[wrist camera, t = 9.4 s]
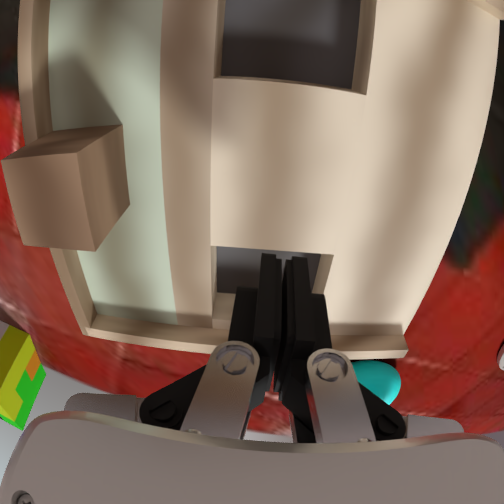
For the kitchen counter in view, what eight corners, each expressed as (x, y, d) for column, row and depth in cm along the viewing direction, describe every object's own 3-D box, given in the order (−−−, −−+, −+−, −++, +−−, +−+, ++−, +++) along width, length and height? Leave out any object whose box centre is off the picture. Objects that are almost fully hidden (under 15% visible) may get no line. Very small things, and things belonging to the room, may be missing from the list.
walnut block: (122, 124, 14) (76, 152, 10) (130, 204, 16) (95, 252, 12) (52, 130, 13) (0, 160, 10) (65, 202, 16) (23, 245, 12)
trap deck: (471, 6, 10) (516, 5, 7) (389, 316, 25) (403, 357, 21) (68, -25, 10) (24, -34, 6) (103, 295, 24) (83, 334, 21)
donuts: (388, 439, 19) (432, 449, 22) (366, 341, 27) (411, 373, 30) (292, 472, 23) (352, 480, 27) (289, 386, 31) (343, 409, 35)
